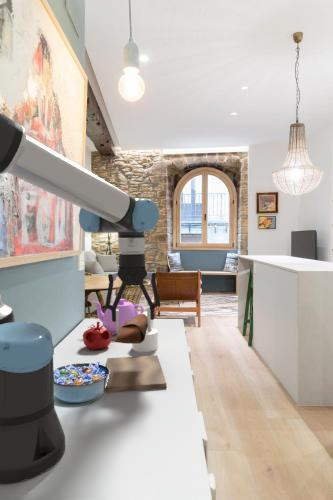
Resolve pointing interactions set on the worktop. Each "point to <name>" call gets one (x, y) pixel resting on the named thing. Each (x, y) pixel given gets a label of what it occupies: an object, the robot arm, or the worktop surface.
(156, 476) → the worktop surface
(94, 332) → the pomegranate
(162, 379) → the walnut board
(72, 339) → the worktop surface
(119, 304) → the teapot
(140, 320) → the sunglasses case
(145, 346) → the base with upright slab
